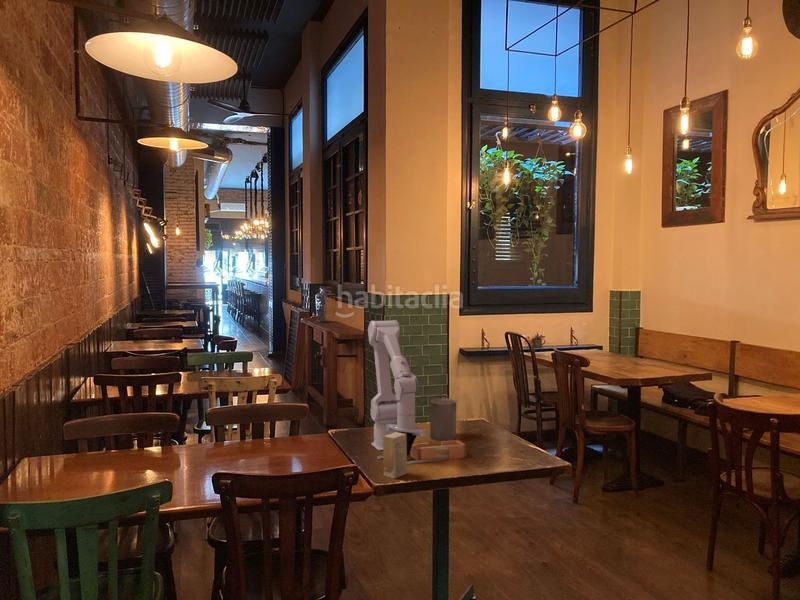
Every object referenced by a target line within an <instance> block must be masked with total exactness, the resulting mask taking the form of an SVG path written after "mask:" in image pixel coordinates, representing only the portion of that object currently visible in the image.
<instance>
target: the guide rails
mask: <svg viewBox="0 0 800 600" xmlns="http://www.w3.org/2000/svg"><path fill="white" fill-rule="evenodd" d="M376 457H377V460H382V459H381V458H383V455H377V456H376ZM408 457H411V452H410V455H409V456H408ZM440 460H443V461H448V460H449V458H448V457H443V458H433V459H423V460H415V459H413V460H407V465H412V464H421V463H422V464H423V463H424V464H425V463H431V462H432V463H433V462H441V461H440Z"/></svg>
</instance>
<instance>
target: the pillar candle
mask: <svg viewBox="0 0 800 600" xmlns="http://www.w3.org/2000/svg"><path fill="white" fill-rule="evenodd" d="M429 408H430V411H429V412H430V414H429V415H430V417H429V418H430V419H429V420H430V423H429V426H430V427H429V429H430V430H429V437H430V438H431V439H432V440H434V439H435V441H441V440H447V441H451V440H452V439H453V440H456V439H457V399H453V398H447V397H444V396H442V398H441V397H440V398H439V397H438V398H433V399H430V407H429Z"/></svg>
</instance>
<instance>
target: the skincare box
mask: <svg viewBox="0 0 800 600" xmlns="http://www.w3.org/2000/svg"><path fill="white" fill-rule="evenodd" d="M382 451H383V455H382V456H383V459H382V460H383V462H382V463H383V477H385V476H386V478H389V477H390V478H389V479H393V478H394V480H395V479H398V478H400V477H402V476H404V475H407V474H408V464H407V461H408V459H407V458H408V456H407V444H406V434H404V433H398V432H394V433H391V434H388V435H385V436H383V450H382Z"/></svg>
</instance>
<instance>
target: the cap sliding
mask: <svg viewBox="0 0 800 600" xmlns="http://www.w3.org/2000/svg"><path fill="white" fill-rule="evenodd" d="M422 447H430V445H429V442H420V443H413V444H412V448H411V451H410V453H411V456H410V457H412V459H413V460H423V459H433V458H436V448H435V447H434V448H423V449H420V448H422Z"/></svg>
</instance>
